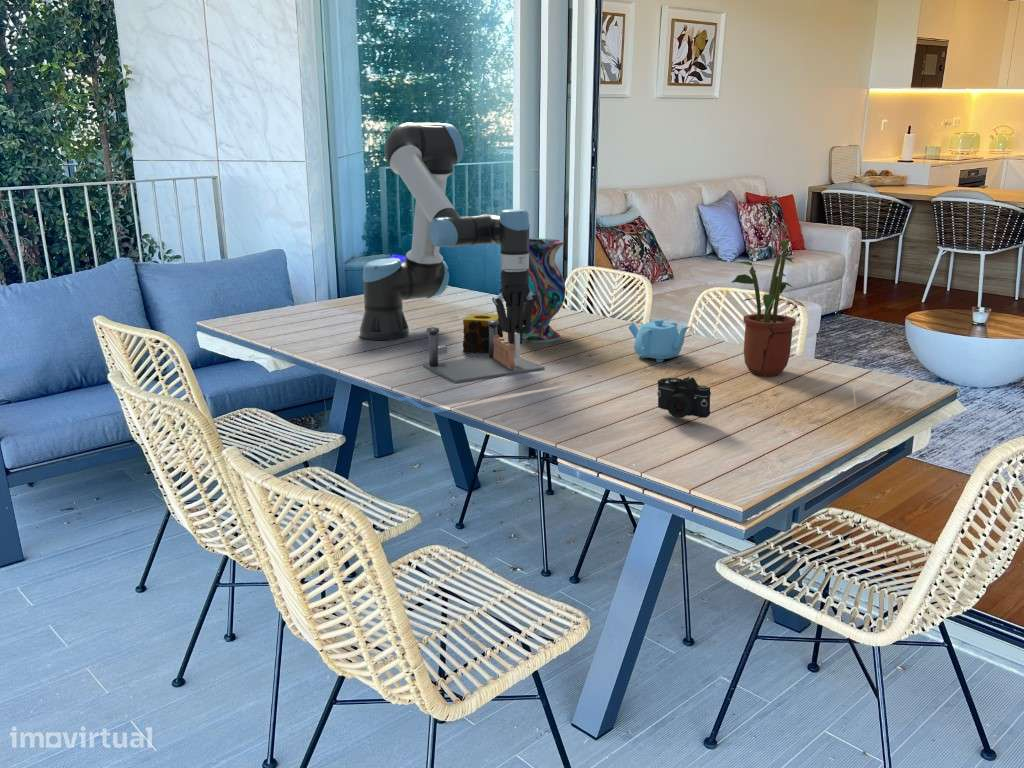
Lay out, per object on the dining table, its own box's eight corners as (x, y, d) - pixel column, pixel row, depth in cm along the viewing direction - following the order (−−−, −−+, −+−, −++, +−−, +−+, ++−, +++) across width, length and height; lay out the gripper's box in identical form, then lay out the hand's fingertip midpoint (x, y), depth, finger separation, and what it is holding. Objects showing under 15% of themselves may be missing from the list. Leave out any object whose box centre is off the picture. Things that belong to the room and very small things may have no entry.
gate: (493, 357, 241) (493, 334, 239) (498, 357, 241) (498, 334, 240) (509, 369, 229) (509, 345, 227) (514, 368, 230) (514, 344, 228)
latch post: (423, 366, 236) (422, 327, 233) (444, 363, 239) (443, 324, 236) (431, 369, 232) (430, 330, 229) (452, 366, 235) (451, 327, 232)
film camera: (644, 414, 197) (647, 379, 190) (661, 397, 201) (664, 363, 195) (696, 437, 190) (702, 402, 184) (713, 419, 195) (718, 384, 188)
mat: (423, 366, 235) (423, 364, 235) (508, 354, 249) (508, 352, 248) (455, 383, 220) (455, 380, 219) (544, 369, 233) (544, 367, 233)
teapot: (680, 353, 251) (682, 314, 248) (688, 365, 238) (690, 324, 235) (627, 353, 251) (628, 314, 248) (632, 364, 238) (634, 324, 235)
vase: (496, 342, 264) (495, 243, 255) (518, 330, 280) (518, 236, 272) (552, 347, 257) (554, 246, 249) (572, 335, 273) (574, 239, 265)
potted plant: (791, 370, 233) (803, 238, 223) (789, 384, 219) (802, 245, 209) (725, 364, 238) (734, 236, 229) (719, 378, 224) (728, 242, 215)
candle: (496, 355, 248) (496, 321, 245) (462, 353, 250) (461, 319, 247) (504, 347, 258) (504, 314, 255) (471, 345, 260) (470, 312, 257)
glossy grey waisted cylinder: (485, 358, 244) (485, 321, 241) (495, 357, 245) (495, 319, 243) (491, 361, 241) (490, 323, 238) (501, 359, 243) (501, 321, 240)
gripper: (500, 273, 222) (501, 362, 228) (543, 269, 228) (542, 356, 235) (486, 269, 228) (487, 356, 235) (528, 265, 234) (528, 350, 241)
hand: (515, 356), depth 235 cm, fingers closed
